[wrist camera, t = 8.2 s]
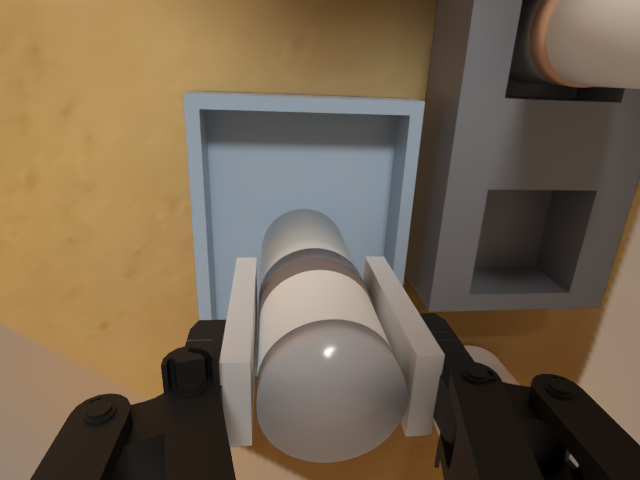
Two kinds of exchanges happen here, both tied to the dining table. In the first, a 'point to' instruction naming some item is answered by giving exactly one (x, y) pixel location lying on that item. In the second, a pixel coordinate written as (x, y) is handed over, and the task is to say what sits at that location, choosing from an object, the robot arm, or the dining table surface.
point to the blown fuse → (321, 347)
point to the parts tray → (296, 177)
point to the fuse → (578, 43)
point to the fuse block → (515, 175)
